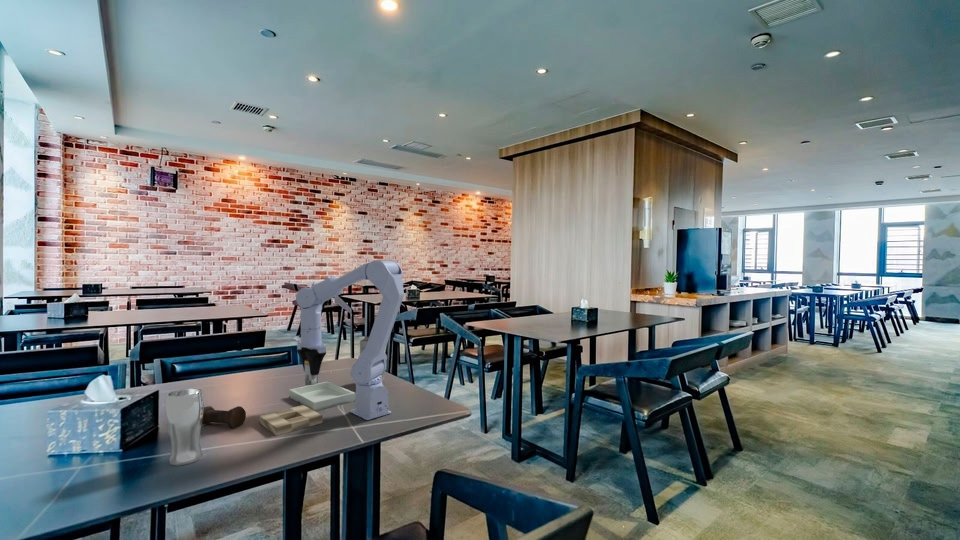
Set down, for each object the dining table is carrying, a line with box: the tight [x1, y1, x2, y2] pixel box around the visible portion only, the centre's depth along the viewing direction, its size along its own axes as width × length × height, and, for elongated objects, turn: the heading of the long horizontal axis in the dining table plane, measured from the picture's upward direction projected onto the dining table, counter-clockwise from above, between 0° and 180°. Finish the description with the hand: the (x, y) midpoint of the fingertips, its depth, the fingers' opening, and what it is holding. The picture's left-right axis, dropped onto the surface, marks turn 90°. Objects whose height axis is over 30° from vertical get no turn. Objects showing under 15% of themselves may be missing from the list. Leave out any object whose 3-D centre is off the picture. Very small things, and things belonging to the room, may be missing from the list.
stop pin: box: [304, 359, 319, 386], centre depth 131 cm, size 4×4×7 cm
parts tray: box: [288, 381, 356, 412], centre depth 138 cm, size 18×13×2 cm
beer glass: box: [165, 387, 205, 467], centre depth 97 cm, size 7×7×15 cm
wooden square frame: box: [258, 404, 324, 436], centre depth 118 cm, size 12×12×2 cm
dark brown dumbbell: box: [202, 405, 247, 430], centre depth 118 cm, size 6×5×15 cm
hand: (311, 373), depth 131 cm, fingers closed on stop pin, 4 cm apart
